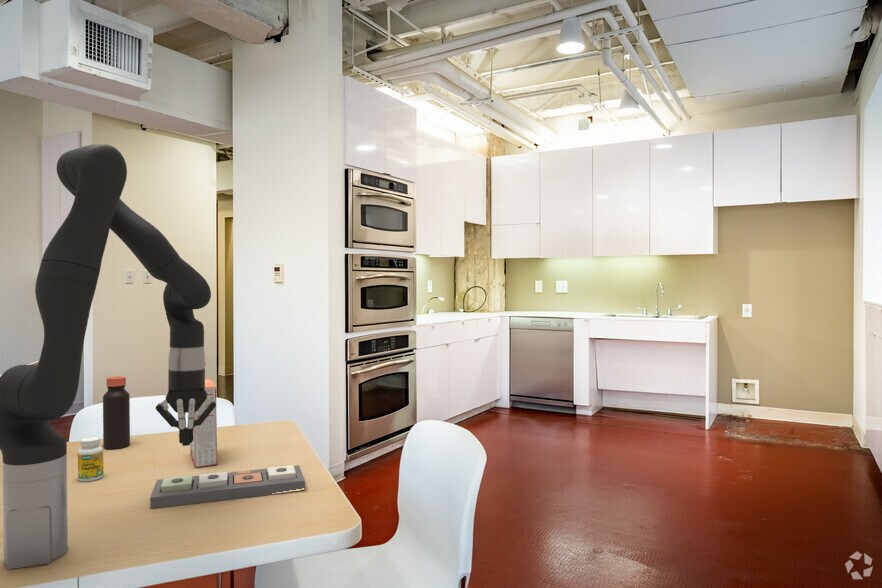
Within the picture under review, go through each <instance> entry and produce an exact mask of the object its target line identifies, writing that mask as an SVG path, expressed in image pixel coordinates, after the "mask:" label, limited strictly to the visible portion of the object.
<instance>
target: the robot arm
mask: <svg viewBox="0 0 882 588" xmlns="http://www.w3.org/2000/svg"><path fill="white" fill-rule="evenodd" d="M127 168H128V167H127V163H126V159H125V157H124V156H123V155H122V153H121V151H120V150H118V148H116V147H115V146H113V145H110V144H106V143H94V144H89V145H85V146H81V147H77V148H74V149H71V150H68V151H66V152H64V153H63V154H61V155H60V157H59V158H58V159H57V163H56V173H57V176H58V179H59V181H60V182H61V184H62V185H63V187H65V189H66V190H67V191H68V192H70V194H71V195H73V196H74V200H73V204H72V206H71V208H70V210H69V212H68V214H67V216H66V217H65V220H64V221H63V222H62V223H61V225H60V227H59V228H58V229H57V230H56V233H55V234H54V235H53V237H52V239H51V240H50V241H49V242H48V245H47V246H46V248H45V251H44V253H43V254H42V257H41V261H40V265H39V268H38V269H39V270H38V271H37V276H36V279H35V280H36V281H35V289H34V290H35V299H36V303H37V307H38V312H39V315H40V318H41V321H42V325H43V337H44V338H43V344H42V348H41V353H40V356H39V360H38V363H37V364H19V365H18V364H17V365H15V366H12V367H10V368H8V369H6V370H5V371H4V372H3V373H2V374H1V376H0V451H1V456H2V513H3V514H2V518H3V519H2V520H3V521H2V523H3V524H2V528H3V530H2V531H3V532H2V534H3V564H4V565H6V569H7V570H14V569H18V568H25V567H26V568H28V567H33V566H34V567H35V566H40V565H41V566H42V565H47V564H50V563H51V562H52V561H53V560H56V559H57V558H59V557H61V556H63V555H64V554H66V552H67V551H68V548H69V547H68V546H69V544H68V543H69V542H68V540H69V539H68V537H69V535H68V534H69V533H68V529H69V527H68V525H69V524H68V452H67V451H68V450H67V449H68V445H67V443H68V442H67V439H66V438H65V436H64V435H63V434H61V433H59V432H58V431H57V430H55V429H54V428H53V426H52V425H51V423H50V422H49V421H55V420H58V419H60V418H62V417H63V416H65V415H66V414H67V413H68V412H69V411H70V409H71V408H72V406H73V404H74V402H75V400H76V397H77V395H78V394H77V393H78V389H79V385H80V384H79V383H80V375H81V367H82V360H83V359H82V358H83V350H84V342H85V337H86V331H87V327H88V322H89V318H90V314H91V313H90V312H91V308H92V303H93V301H94V297H95V293H96V289H97V284H98V281H99V277H100V276H99V275H100V272H101V266H102V261H103V257H104V253H105V250H106V246H107V243H108V237H109V232H110V230H111V231H112V232H113V234H115V235H116V237H118V238H119V239H120V240H121V242H122V243H124V245H125V246H126V247H127V248H128V249H129V250H130V252H131V253H132V254H133V255H134V256H135V257H136V259H137V260H138V261H139V262H140V264H141V265H142V266H143V267H144V269H145V270H146V271H147V272H148V274H150V276H152V277H153V278H154V279H156V280H159V281H160V282H161V281H162V282H164V283H166V285H165V287H164V290H163V295H162V299H163V308H164V311H165V315H166V319H167V322H168V323H167V324H168V326H169V352H168V361H167V363H168V368H167V369H168V371H167V372H168V376H167V377H168V378H167V379H168V382H167V383H168V385H167V386H168V387H167V389H168V390H167V394H166V395H165V399H164V400H163V401H161V402H159V403H158V404H157V405H156V406H155V410H156V411H157V412H158V414H159V415H160V416H161V417H162V418H163V419H164V420H165V421H166V422H167V424H168V425H169V426H171V428H177V429H178V430H179V431H178V434H179V435H178V440H179V441H178V442H179V444H182V446H183V447H186V446H188V447H190V443H192V441H193V439H194V427H195V426H199V425H201V424H202V423H203V421H204V420H205V419H206V418H207V417H208V415H209V414H210V413H211V412H212V410H213V409H214V408H215V407H216V408H217V400H216V401H212V400H211V399H210V398H208V397H207V393H206V391H205V379H206V363H207V361H206V353H205V352H206V351H205V328H204V324H203V322H201V320H198V319H196V318H195V314H194V310H199V309H203V308H205V307H206V306H207V305H208V304H209V303H210V301H211V297H212V291H211V287H210V284H209V283H208V281H207V280H206V279H205V278H204V277H203V275H201V274H200V272H198V270H196V269H195V268H194V267H193V266H191V265H190V264H189V263H188V262H187V261H185V260H184V259H183V258H182V257H181V256H180V255H179V253H178V252H177V250H176V249H175V248H174V247H173V245H172V244H171V243H170V241H169V239H168V238H167V237H166V236H165V235H164V234H163V233H162V232H161V231H160V230H159V229H158V228H157V227H156V226H154V225H153V224H152V223H150V222H149V221H148V220H146V219H145V218H143V217H142V216H141V215H139V214H138V213H136V211H134V210H133V209H131V207H130V206H128V205H127V204H126V203H125V202H124V201H123V200H122V198H121V196H122V193H123V190H124V187H125V185H126V182H127V176H128V169H127ZM204 401H205V402H206V404H205V408H206V409H205V410H204V412H203V413H202V414H201V415H200V416H199V418H198V419H196V420H194V419H195V412H196V411H198V409H199V408H200V407H201V405H202V404H203V403H204ZM170 407H171V409H172V410H173V411H174V412H175V413H177V418H178V420H177V418H176V417H174V415H173V414H172V413H171V412H170V411H169V408H170ZM186 413H187V421H186Z"/></svg>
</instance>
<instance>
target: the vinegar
mask: <svg viewBox="0 0 882 588" xmlns="http://www.w3.org/2000/svg"><path fill="white" fill-rule="evenodd" d="M126 381H127V378H126V376H123V375H122V376H110V377H106V388H107V391H106V392H105V393H104V394H103V396H102V428H103V429H102V432H103V434H102V440H103V445H102V448H103V449H106V450H119V449H125V448H127V447H129V446H130V445H131V420H130V419H131V417H130V411H131V407H130V406H131V403H130V402H131V401H130V399H131V398H130V397H131V396H130V393H129V392H128V391H127V390H126V389H125V387H126V386H127V382H126Z"/></svg>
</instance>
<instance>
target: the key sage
mask: <svg viewBox="0 0 882 588" xmlns="http://www.w3.org/2000/svg"><path fill="white" fill-rule="evenodd" d="M193 476H194V475H184V476H182V475H181V476H174V477H173V476H172V477H164V478H162V479H163V482H162V485H161V492H170V491H179V490H188V489H192V484H193Z"/></svg>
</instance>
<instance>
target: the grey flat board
mask: <svg viewBox="0 0 882 588" xmlns="http://www.w3.org/2000/svg"><path fill="white" fill-rule="evenodd" d="M293 466H294V469H295V472H296V478H290V479H281V480H272V481H268V476H267V468H261V469H252V470H251V469H250V470H240V471H230V472H229V471H228V472H227V485H225V486H216V487H207V488H198V482H199V475H193V484H192V489H188V490H179V491H170V492H161V485H162V482H163V479H164V478H160V479H156V481H155V483H154V486H153V489H152V492H151V495H150V497H149V498H150V500H149V502H150V503H149V504H150V509H159V508H165V507H166V508H167V507H177V506H184V505H185V506H186V505H193V504H200V503H201V504H202V503H211V502H218V501H228V499H229V500H235V499H236V498H238V499H244V498H243V497H246V498H255V497H260V496H259V495H264V496H267V495H266V494H272V493H276V492H283V491H289V490H296V489H302V488H305V489H306V480H305V476H304V474H303V471H302V469H301V467H300V465H299V464H298V465H293ZM260 472H261V476H262V482H253V483H244V484H235V485H234V475H241V474H251V473H260ZM272 495H273V494H272ZM254 496H255V497H254Z"/></svg>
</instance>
